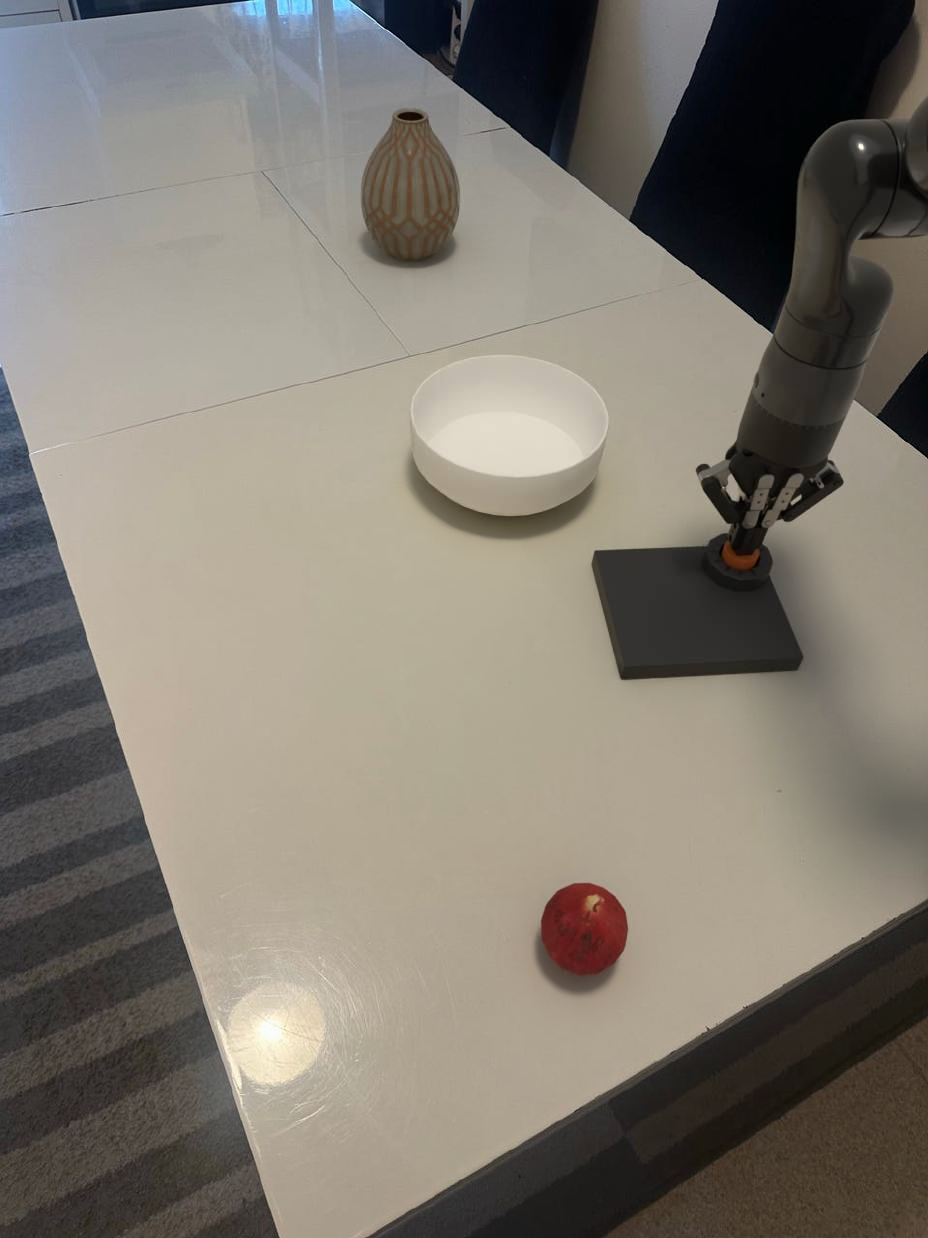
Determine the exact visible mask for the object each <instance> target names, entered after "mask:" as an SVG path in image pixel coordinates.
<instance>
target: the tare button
mask: <svg viewBox="0 0 928 1238" xmlns="http://www.w3.org/2000/svg"><path fill="white" fill-rule="evenodd" d="M758 556H759V549H755V551H754V553H753V555H736V554H735V551H734V550H732V548H731V546H730V543H729V541H727V542H726V543H725V546H724V548H723V551H722V554H721V560H722V561H723V562H724V563H726V564H727V565H728V566H729V567H731V568H734V569H737V570H751V569H753V568H754V566H755V564H756V561H757V559H758Z"/></svg>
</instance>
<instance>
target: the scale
mask: <svg viewBox="0 0 928 1238" xmlns="http://www.w3.org/2000/svg"><path fill="white" fill-rule="evenodd" d="M727 535H728V532H723V533H720V534H718V535H716V536H715V537H713V538H712V539H709V541H708V544H707V545H697V546H670V547H646V548H645V547H644V548H620V549H619V548H618V549H617V548H616V549H595V550H593V555H592V560H591V567H592V571H593V575H594V579H595V583H596V586H597V591H598V594H599V595H598V596H599V598H600V599H599V600H600V602H601V606H602V610H603V614H604V618H605V623H606V627H607V629H608V634H609V638H610V641H611V645H612V649H613V653H614V657H615V661H616V665H617V668H618V672H619V676H620V679H621V680H638V679H657V678H658V679H659V678H676V677H677V678H678V677H693V676H694V677H696V676H714V675H731V674H749V673H767V672H769V673H771V672H786V671H788V672H790V671H798V669H799V667H800V666H801V663H802V662H803V660H804V658H805V656H804V654H803V652H802V649H801V647H800V644H799V643H798V640H797V638H796V635H795V632H794V630H793V628H792V625H791V623H790V620H789V619H788V616H787V613H786V612H785V608H784V607H783V604H782V602H781V600H780V598H779V595H778V593H777V590H776V588H775V585H774V583H773V581H772V578H771V576H770V573H771V570H772V567H773V564H774V558H773V556H772V554H771V551H770V549H769V548H768V547H767V546H766V545H765V544H764V543H762V545H761V546H760V547H759V556H758V559H757V561H756V564H755V566H754V568H753V569H751V570H737V569H734V568H731V567H729V566H728V565H727V564H726V563H724V562H723V561H722V560H721V554H722V551H723V548H724V546H725V543H726V542H727V541H728V536H727Z"/></svg>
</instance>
